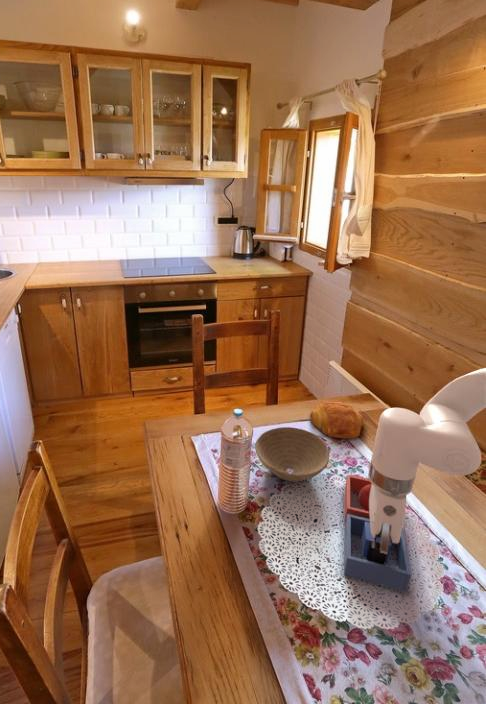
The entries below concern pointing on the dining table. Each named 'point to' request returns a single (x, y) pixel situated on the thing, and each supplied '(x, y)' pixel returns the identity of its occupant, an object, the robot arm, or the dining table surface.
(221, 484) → the water bottle
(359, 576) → the blue bin
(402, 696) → the dining table surface
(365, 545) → the blue block
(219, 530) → the dining table surface
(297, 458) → the bowl
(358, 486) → the terracotta bin
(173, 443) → the dining table surface
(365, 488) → the onion
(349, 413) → the croissant
